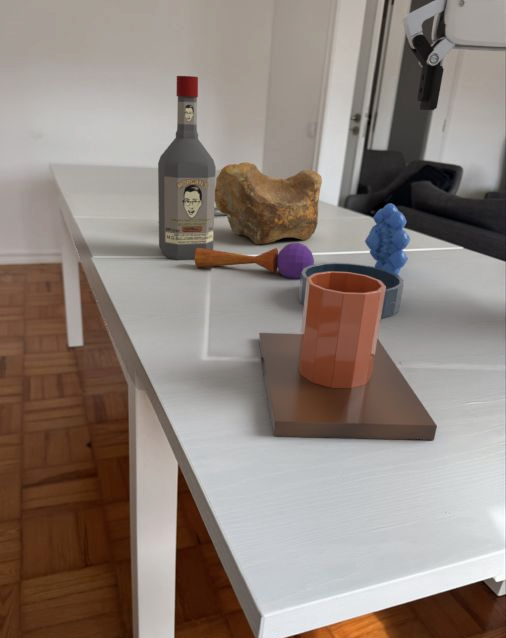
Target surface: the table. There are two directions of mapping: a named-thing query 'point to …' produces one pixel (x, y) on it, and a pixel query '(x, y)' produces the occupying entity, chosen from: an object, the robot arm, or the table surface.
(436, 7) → the robot arm
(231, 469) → the table surface
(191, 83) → the liquor
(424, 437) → the board
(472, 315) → the table surface
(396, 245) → the grapes
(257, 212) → the rough brown rock
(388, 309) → the bowl
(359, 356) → the cup
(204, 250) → the kendama
